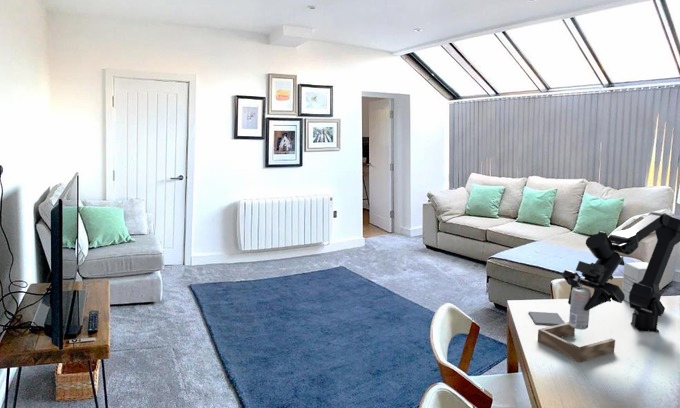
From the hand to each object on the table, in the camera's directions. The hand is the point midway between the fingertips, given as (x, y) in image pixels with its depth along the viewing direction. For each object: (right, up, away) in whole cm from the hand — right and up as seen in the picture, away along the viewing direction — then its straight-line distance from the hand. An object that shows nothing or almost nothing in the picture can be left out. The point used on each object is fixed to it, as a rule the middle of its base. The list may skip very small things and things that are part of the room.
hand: (576, 306), depth 149 cm
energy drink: (+1, -7, +2) cm, 7 cm away
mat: (+1, -9, +23) cm, 25 cm away
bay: (+1, -13, +3) cm, 13 cm away
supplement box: (+44, -7, +40) cm, 60 cm away
